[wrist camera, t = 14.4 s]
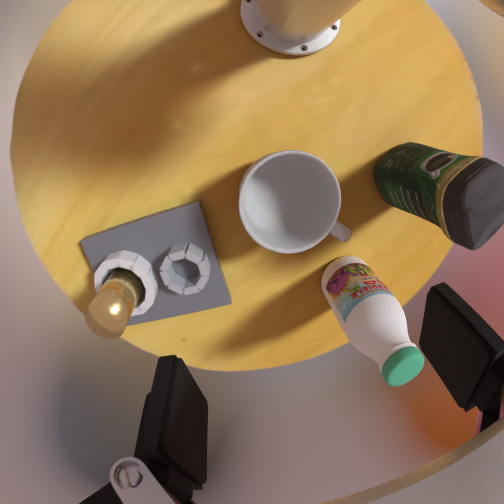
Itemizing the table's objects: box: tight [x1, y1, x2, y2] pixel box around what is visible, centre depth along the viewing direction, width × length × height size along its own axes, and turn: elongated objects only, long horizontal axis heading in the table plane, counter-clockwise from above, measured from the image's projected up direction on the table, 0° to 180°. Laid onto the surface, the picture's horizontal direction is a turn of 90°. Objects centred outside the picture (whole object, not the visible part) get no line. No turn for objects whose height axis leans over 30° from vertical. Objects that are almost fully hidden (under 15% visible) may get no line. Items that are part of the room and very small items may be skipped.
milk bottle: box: [321, 256, 424, 386], centre depth 32 cm, size 8×8×20 cm
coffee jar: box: [374, 142, 504, 250], centre depth 27 cm, size 10×8×19 cm
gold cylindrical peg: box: [85, 267, 144, 339], centre depth 33 cm, size 5×5×10 cm
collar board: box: [80, 200, 231, 326], centre depth 37 cm, size 15×18×4 cm
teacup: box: [238, 150, 352, 254], centre depth 32 cm, size 14×11×8 cm
